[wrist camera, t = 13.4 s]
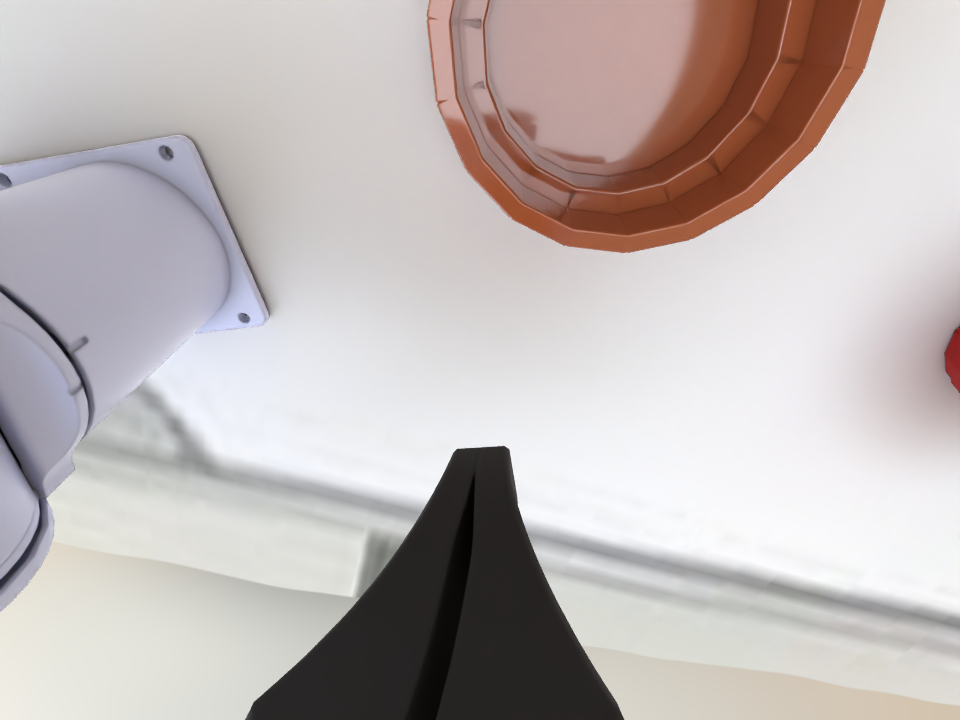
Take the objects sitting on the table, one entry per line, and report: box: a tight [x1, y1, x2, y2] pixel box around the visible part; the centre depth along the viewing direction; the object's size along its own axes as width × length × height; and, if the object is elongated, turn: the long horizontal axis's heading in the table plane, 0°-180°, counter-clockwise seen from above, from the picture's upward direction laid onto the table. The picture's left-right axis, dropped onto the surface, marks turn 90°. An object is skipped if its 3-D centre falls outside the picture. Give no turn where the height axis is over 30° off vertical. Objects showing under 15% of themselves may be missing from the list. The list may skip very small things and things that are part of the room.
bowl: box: [427, 0, 886, 253], centre depth 14 cm, size 11×11×5 cm
